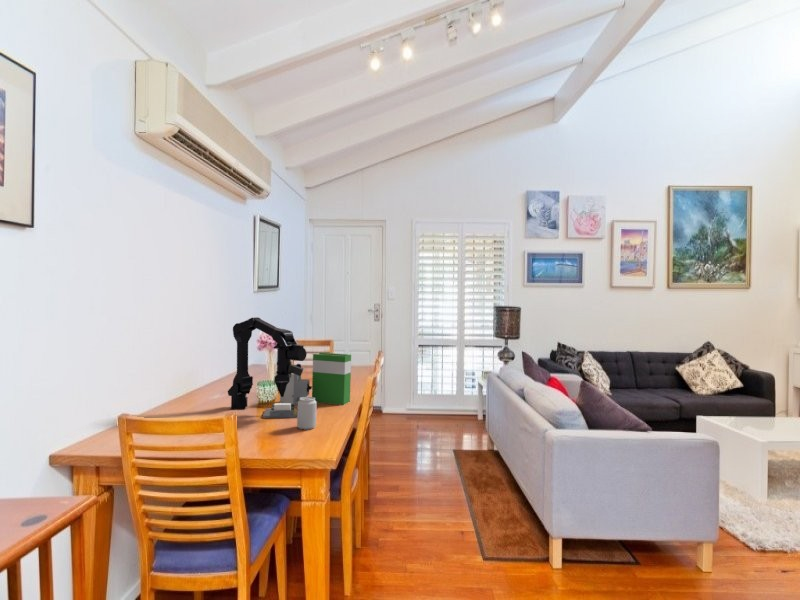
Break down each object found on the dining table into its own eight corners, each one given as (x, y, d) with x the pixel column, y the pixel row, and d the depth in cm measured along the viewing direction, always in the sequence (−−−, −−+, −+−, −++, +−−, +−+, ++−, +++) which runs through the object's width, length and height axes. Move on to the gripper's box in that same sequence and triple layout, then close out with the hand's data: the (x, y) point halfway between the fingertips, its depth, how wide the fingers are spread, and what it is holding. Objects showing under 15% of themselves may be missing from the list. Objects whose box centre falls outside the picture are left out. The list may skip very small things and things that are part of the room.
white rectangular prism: (273, 414, 196) (274, 404, 196) (274, 412, 199) (274, 403, 199) (290, 413, 197) (290, 404, 197) (290, 412, 200) (290, 403, 200)
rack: (262, 418, 193) (262, 411, 193) (265, 410, 206) (266, 404, 206) (300, 417, 196) (300, 410, 196) (301, 410, 209) (301, 403, 209)
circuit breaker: (309, 405, 219) (309, 374, 219) (279, 404, 219) (280, 373, 219) (312, 401, 226) (313, 372, 226) (284, 400, 227) (285, 371, 227)
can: (299, 431, 176) (300, 400, 176) (294, 426, 183) (295, 396, 183) (318, 429, 180) (319, 399, 180) (312, 424, 186) (313, 395, 186)
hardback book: (311, 401, 227) (313, 354, 227) (318, 398, 234) (320, 352, 234) (343, 404, 221) (345, 356, 221) (349, 401, 229) (351, 354, 228)
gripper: (301, 362, 190) (300, 398, 190) (303, 356, 209) (302, 390, 209) (274, 362, 188) (273, 399, 188) (278, 356, 207) (277, 390, 207)
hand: (283, 394), depth 198 cm, fingers open, 9 cm apart
